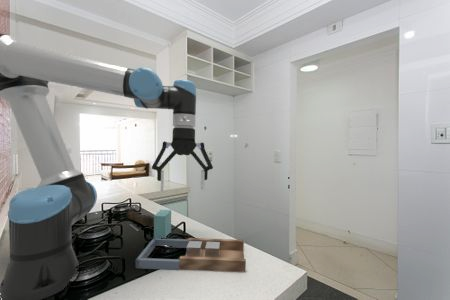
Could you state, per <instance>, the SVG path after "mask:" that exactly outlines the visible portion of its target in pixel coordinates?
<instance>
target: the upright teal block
mask: <svg viewBox="0 0 450 300" xmlns="http://www.w3.org/2000/svg"><path fill="white" fill-rule="evenodd" d="M153 218H154V229H153V238H160V239H161V238H166V236H167V235H168V234H169V233H171V234H172V209H160V210H159V211H158V212H157V213H155V215H154V216H153Z"/></svg>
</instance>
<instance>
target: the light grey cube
mask: <svg viewBox="0 0 450 300" xmlns="http://www.w3.org/2000/svg"><path fill="white" fill-rule="evenodd" d="M219 256H220V242H207V244H206V247H205V257H216V258H219Z"/></svg>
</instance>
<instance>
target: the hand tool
mask: <svg viewBox="0 0 450 300" xmlns="http://www.w3.org/2000/svg"><path fill="white" fill-rule="evenodd" d="M126 219H127V220H129V221H130V220H131V221H134V222H136V223H138V224H141V225H142V226H143V227H144V226H149V227H154V216H151V215H143V214H141V213H139V212H137V211H135V210H128V211H127V212H126Z"/></svg>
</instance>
